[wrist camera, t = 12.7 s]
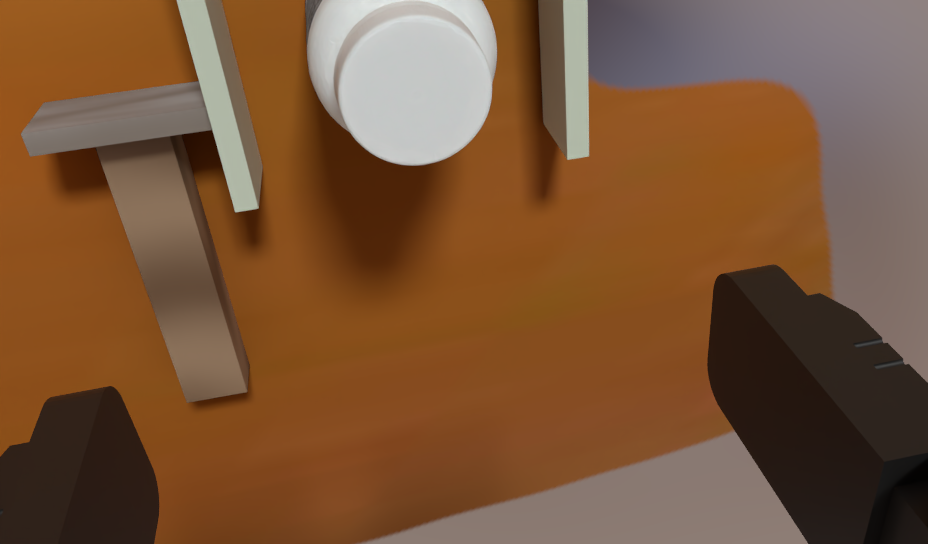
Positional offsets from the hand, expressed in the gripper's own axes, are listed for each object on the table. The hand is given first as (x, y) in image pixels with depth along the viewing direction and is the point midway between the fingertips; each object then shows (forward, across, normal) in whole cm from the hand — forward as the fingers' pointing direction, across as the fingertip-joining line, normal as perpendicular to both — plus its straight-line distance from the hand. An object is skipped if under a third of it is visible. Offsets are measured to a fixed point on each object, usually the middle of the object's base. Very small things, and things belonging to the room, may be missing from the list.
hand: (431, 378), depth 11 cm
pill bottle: (+21, -1, 0) cm, 21 cm away
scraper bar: (+21, +8, +9) cm, 24 cm away
